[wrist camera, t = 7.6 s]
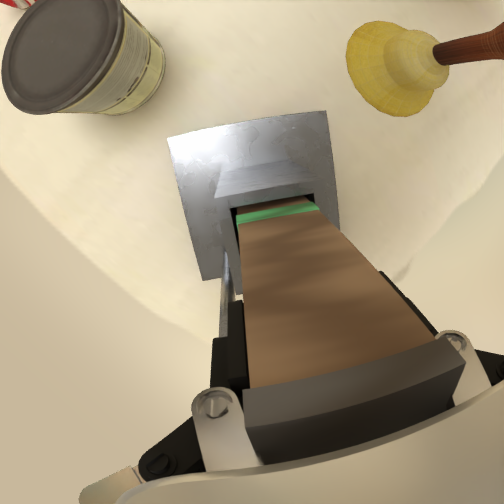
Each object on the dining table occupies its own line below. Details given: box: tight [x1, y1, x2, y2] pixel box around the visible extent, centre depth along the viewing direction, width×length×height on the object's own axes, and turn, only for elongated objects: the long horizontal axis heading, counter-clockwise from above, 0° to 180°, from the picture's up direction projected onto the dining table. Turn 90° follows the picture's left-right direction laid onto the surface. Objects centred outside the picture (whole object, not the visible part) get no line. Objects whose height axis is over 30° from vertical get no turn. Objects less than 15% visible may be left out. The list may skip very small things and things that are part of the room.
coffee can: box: [1, 0, 165, 115], centre depth 19 cm, size 10×10×14 cm
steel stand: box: [167, 111, 340, 337], centre depth 24 cm, size 16×16×16 cm
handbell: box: [346, 21, 504, 117], centre depth 15 cm, size 12×12×25 cm
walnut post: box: [236, 195, 466, 465], centre depth 15 cm, size 5×5×19 cm
